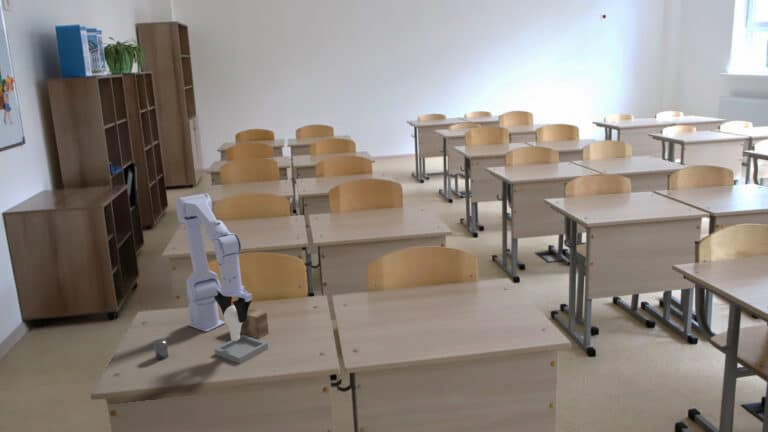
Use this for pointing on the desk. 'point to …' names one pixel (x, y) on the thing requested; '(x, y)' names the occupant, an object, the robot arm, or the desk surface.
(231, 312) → the lightbulb
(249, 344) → the tray
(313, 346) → the desk surface
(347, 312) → the desk surface
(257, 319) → the lamp housing
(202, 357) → the desk surface
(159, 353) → the fuse
